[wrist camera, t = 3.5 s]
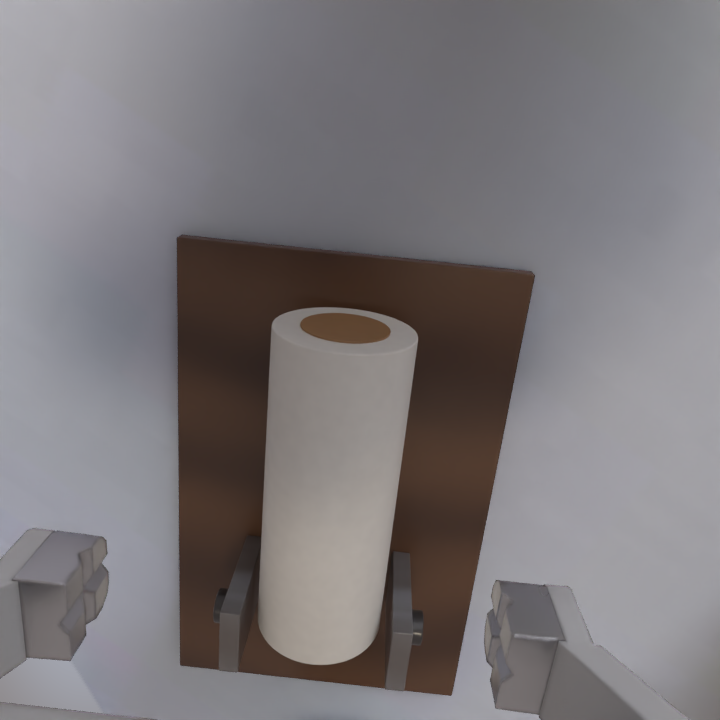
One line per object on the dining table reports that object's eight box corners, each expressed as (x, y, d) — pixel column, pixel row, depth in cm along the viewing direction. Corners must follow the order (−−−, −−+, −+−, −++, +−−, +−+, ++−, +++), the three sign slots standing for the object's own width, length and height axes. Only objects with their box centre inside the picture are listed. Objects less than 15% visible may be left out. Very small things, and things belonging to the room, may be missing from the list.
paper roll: (269, 569, 29) (284, 299, 25) (380, 581, 29) (416, 313, 25) (245, 657, 25) (258, 342, 20) (378, 672, 24) (422, 360, 20)
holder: (181, 234, 25) (125, 264, 20) (532, 271, 25) (569, 310, 20) (183, 656, 33) (143, 757, 28) (450, 686, 33) (461, 793, 27)
